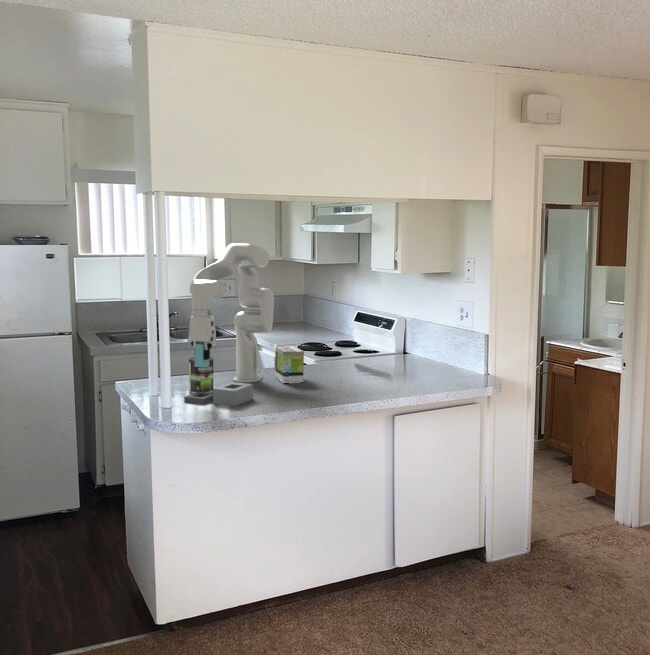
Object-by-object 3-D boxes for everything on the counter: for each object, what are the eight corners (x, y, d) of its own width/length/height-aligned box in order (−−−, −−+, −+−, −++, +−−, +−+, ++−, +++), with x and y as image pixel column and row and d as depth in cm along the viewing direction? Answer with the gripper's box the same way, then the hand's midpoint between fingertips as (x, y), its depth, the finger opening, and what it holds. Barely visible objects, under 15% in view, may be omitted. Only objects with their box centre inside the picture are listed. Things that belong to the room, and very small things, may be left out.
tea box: (304, 383, 320) (304, 350, 318) (282, 384, 317) (282, 351, 315) (295, 376, 334) (295, 345, 332) (274, 377, 331) (274, 346, 329)
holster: (198, 396, 291) (198, 391, 291) (217, 399, 287) (217, 393, 287) (184, 402, 282) (184, 396, 282) (203, 404, 278) (203, 399, 278)
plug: (201, 365, 285) (202, 338, 285) (209, 366, 284) (209, 338, 283) (194, 366, 281) (195, 338, 280) (202, 367, 280) (202, 339, 279)
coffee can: (218, 392, 300) (217, 359, 298) (195, 395, 294) (195, 361, 292) (206, 387, 308) (206, 355, 306) (184, 390, 302) (184, 357, 300)
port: (231, 396, 293) (231, 381, 292) (252, 398, 289) (252, 383, 288) (213, 403, 280) (212, 387, 279) (235, 406, 276) (235, 390, 275)
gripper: (224, 313, 280) (225, 359, 282) (189, 310, 287) (190, 355, 289) (214, 315, 273) (214, 362, 276) (178, 312, 280) (179, 358, 282)
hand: (202, 358), depth 282 cm, fingers closed on plug, 3 cm apart
